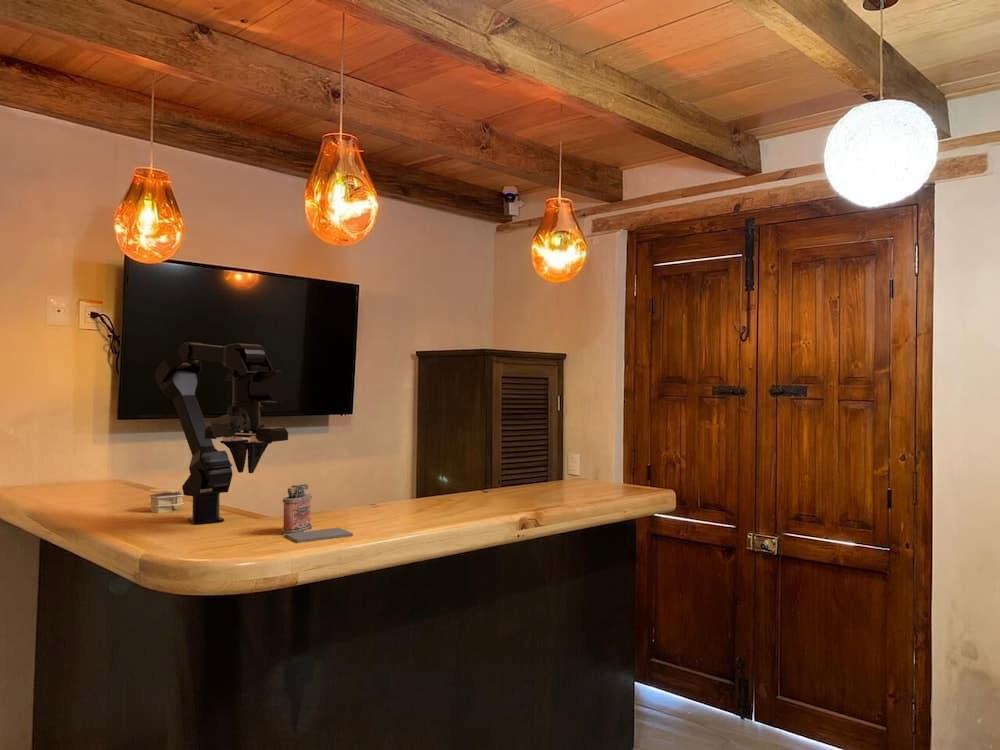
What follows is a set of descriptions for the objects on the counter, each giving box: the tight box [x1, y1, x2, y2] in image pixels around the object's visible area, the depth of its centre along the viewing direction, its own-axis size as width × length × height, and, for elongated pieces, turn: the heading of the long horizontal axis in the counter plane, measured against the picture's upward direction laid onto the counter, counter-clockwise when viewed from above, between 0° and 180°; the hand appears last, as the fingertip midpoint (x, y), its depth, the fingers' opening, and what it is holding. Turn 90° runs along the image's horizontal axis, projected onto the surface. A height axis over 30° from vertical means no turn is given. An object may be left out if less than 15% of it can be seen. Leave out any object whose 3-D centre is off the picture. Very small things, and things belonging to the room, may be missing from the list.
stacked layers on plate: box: [148, 486, 185, 514], centre depth 183 cm, size 10×9×6 cm
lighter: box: [282, 483, 313, 535], centre depth 160 cm, size 8×3×10 cm, turn 158°
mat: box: [284, 527, 354, 543], centre depth 156 cm, size 7×12×1 cm, turn 126°
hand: (245, 472), depth 163 cm, fingers open, 3 cm apart
